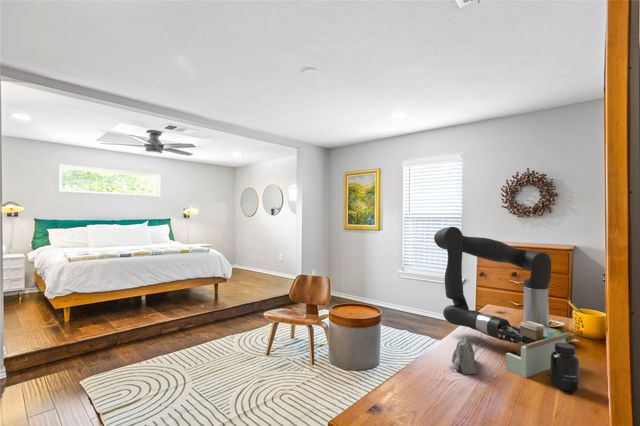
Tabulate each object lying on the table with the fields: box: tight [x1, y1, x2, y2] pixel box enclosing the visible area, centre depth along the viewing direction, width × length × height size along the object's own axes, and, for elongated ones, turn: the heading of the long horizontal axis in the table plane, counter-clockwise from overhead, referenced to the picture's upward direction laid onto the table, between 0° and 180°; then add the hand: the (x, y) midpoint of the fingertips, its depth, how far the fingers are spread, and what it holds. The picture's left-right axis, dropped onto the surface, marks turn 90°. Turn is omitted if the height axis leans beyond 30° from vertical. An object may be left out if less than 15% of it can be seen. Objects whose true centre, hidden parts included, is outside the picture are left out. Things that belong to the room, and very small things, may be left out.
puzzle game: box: [518, 326, 576, 345], centre depth 130 cm, size 12×5×20 cm
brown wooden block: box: [519, 321, 544, 357], centre depth 113 cm, size 5×5×12 cm
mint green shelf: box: [505, 332, 569, 378], centre depth 112 cm, size 22×9×10 cm, turn 117°
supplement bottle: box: [549, 342, 580, 393], centre depth 98 cm, size 7×7×12 cm
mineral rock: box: [451, 336, 477, 375], centre depth 111 cm, size 13×11×10 cm
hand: (539, 341), depth 110 cm, fingers closed on brown wooden block, 4 cm apart
